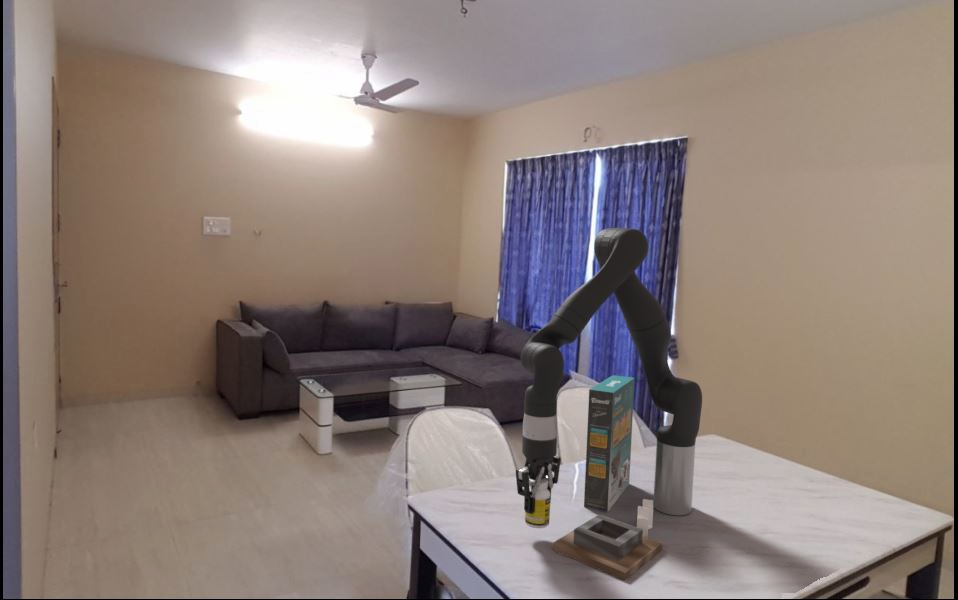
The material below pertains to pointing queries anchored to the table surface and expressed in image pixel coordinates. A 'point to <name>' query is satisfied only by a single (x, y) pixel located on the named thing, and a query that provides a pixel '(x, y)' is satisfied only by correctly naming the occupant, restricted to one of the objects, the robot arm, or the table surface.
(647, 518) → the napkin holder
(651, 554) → the wooden board with frame
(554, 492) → the table surface
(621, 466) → the cake mix box
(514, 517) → the table surface
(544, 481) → the supplement bottle
